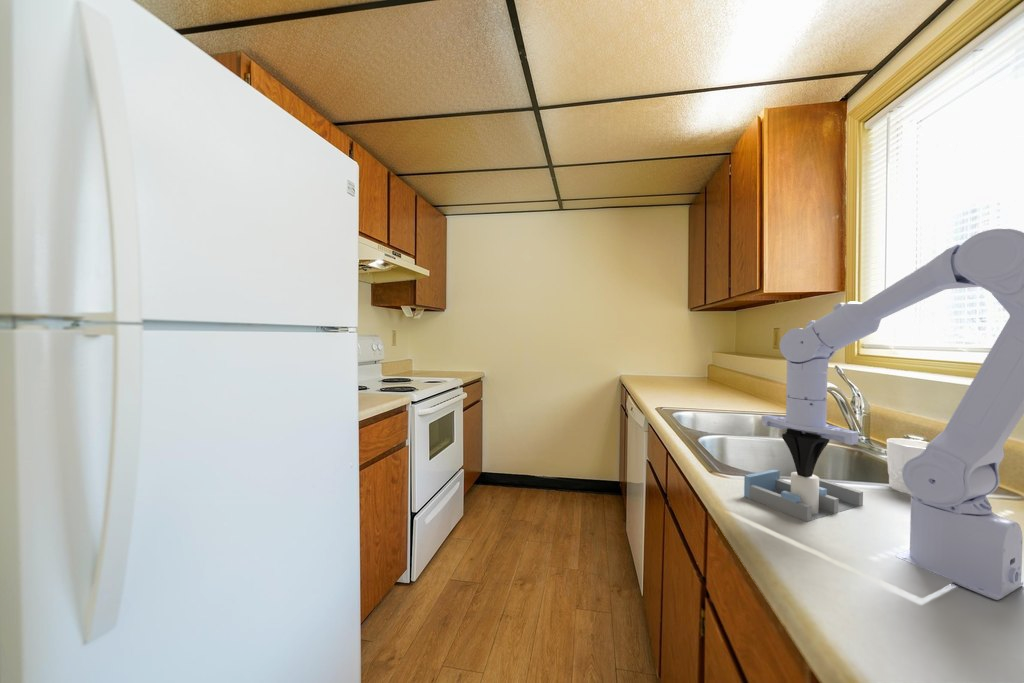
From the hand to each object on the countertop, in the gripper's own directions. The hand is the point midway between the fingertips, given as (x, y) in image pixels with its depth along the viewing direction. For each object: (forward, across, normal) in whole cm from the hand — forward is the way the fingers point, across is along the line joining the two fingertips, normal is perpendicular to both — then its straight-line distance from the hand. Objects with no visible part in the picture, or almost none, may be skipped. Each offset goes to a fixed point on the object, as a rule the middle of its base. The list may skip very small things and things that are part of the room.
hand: (804, 475), depth 69 cm
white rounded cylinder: (+6, 0, 0) cm, 6 cm away
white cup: (+7, -3, -30) cm, 31 cm away
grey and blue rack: (+7, +2, -4) cm, 8 cm away
